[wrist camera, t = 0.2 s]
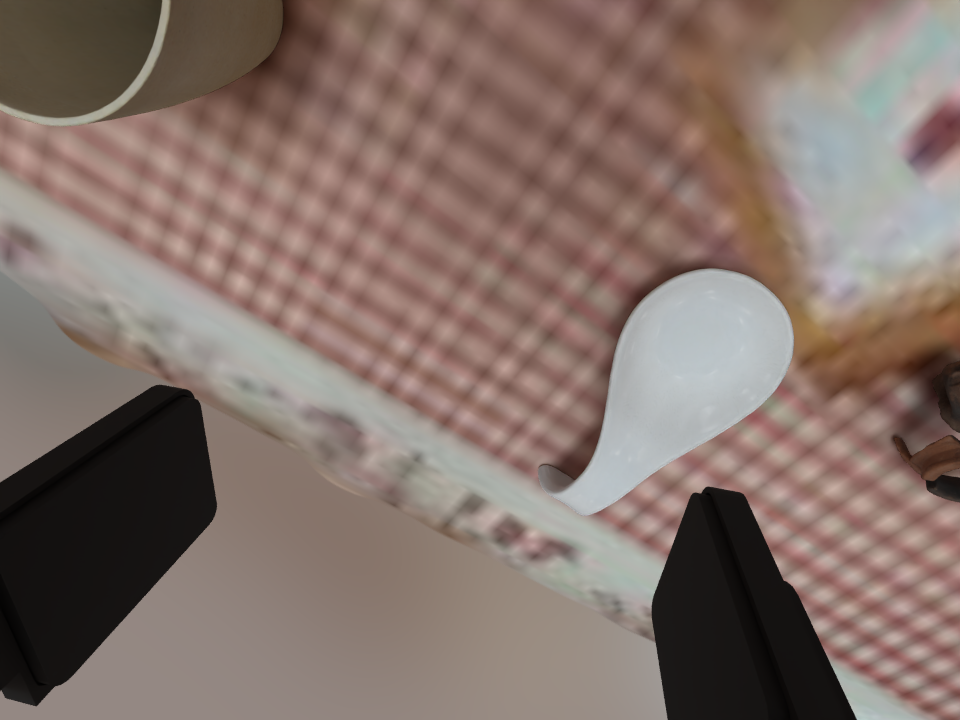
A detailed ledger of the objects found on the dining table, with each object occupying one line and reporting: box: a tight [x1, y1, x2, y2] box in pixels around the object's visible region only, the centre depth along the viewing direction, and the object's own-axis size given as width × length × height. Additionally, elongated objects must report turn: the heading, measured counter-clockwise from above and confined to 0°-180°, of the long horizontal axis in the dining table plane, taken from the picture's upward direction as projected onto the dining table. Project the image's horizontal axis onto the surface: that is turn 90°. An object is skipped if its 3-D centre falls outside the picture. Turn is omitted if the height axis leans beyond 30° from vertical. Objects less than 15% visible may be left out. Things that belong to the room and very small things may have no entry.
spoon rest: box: [538, 268, 794, 516], centre depth 39 cm, size 24×12×7 cm, turn 149°
